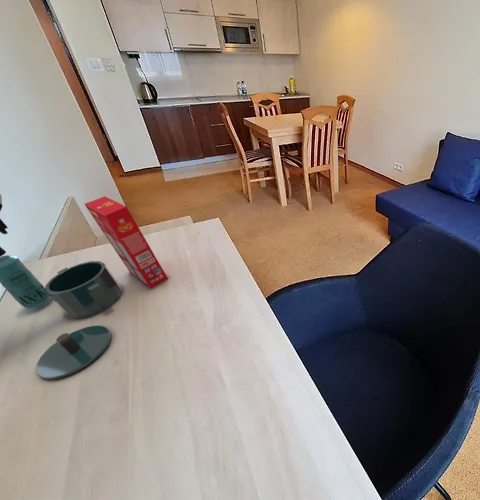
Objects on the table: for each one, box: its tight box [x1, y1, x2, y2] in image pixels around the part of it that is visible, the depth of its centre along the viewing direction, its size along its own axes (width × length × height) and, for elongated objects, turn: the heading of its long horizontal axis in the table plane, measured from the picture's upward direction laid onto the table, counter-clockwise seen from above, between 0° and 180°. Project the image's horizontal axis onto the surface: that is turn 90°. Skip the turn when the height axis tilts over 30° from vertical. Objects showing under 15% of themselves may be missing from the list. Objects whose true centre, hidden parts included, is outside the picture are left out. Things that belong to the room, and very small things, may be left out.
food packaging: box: [84, 195, 169, 289], centre depth 89 cm, size 15×5×25 cm, turn 54°
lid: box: [35, 325, 112, 380], centre depth 71 cm, size 15×15×6 cm
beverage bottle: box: [0, 246, 51, 309], centre depth 84 cm, size 6×7×20 cm
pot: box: [44, 260, 123, 320], centre depth 86 cm, size 14×19×10 cm
